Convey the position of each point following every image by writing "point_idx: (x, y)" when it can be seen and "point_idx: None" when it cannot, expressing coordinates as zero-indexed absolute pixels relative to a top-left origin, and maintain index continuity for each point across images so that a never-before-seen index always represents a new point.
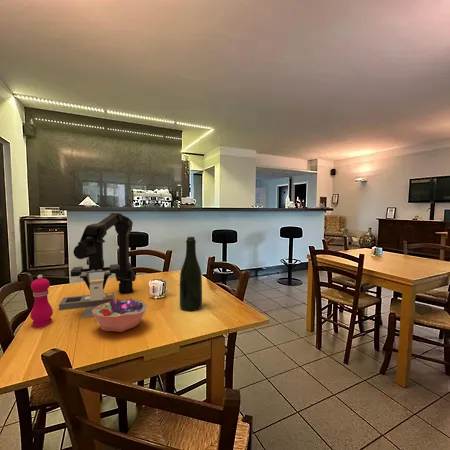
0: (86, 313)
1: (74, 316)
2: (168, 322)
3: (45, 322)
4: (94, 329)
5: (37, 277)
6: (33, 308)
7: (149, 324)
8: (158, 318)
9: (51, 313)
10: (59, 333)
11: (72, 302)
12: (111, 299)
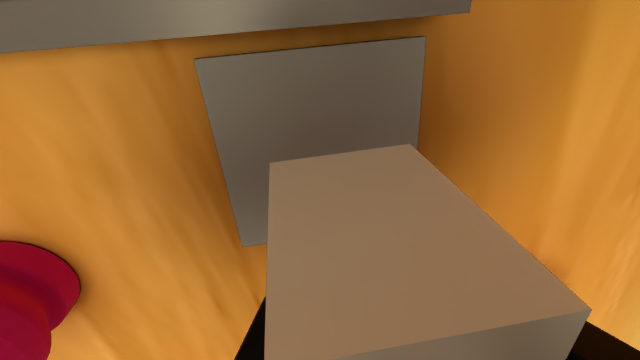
0: (253, 190)
1: (175, 197)
2: (619, 307)
3: (55, 327)
4: None
5: None
6: None
7: None
8: (607, 275)
9: (42, 349)
10: (198, 354)
11: (4, 28)
12: (449, 13)
